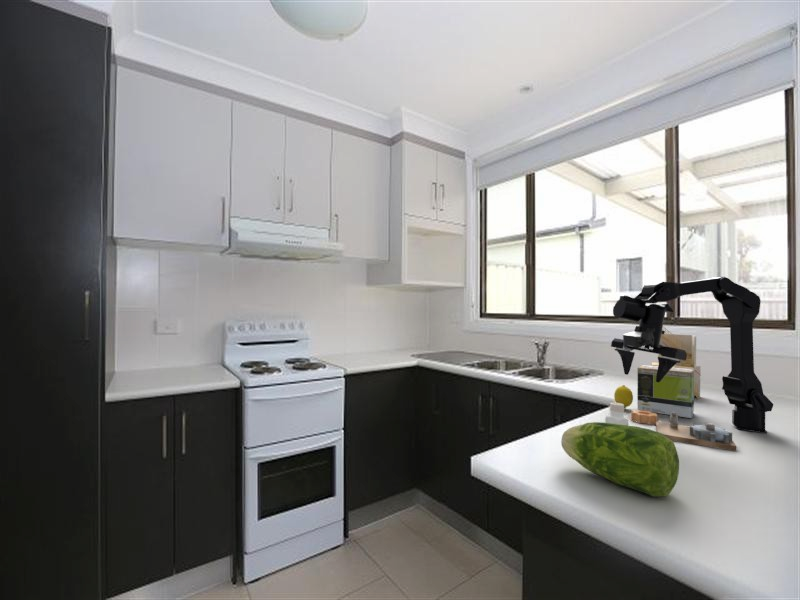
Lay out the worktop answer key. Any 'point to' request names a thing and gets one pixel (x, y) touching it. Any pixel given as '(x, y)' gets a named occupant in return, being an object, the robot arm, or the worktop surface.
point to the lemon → (623, 396)
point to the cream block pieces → (690, 347)
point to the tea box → (666, 391)
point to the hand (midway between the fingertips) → (641, 378)
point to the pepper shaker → (616, 414)
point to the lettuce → (625, 455)
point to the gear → (644, 417)
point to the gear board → (697, 434)
